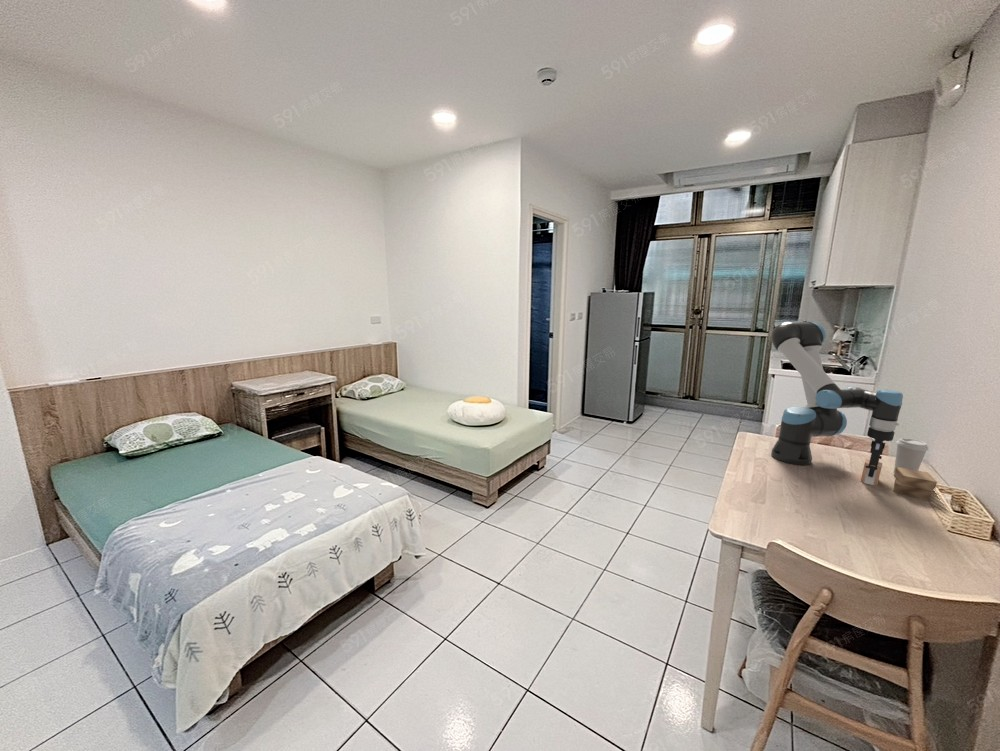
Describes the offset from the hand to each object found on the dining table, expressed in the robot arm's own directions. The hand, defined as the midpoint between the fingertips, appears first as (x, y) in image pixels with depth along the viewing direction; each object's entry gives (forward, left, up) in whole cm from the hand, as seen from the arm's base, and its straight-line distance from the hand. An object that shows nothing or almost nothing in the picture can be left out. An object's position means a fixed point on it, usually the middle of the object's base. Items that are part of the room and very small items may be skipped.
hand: (869, 478), depth 162 cm
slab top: (+12, 0, +2) cm, 12 cm away
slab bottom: (+12, 0, -2) cm, 12 cm away
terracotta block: (0, 0, -1) cm, 1 cm away
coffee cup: (+10, +19, -2) cm, 22 cm away
